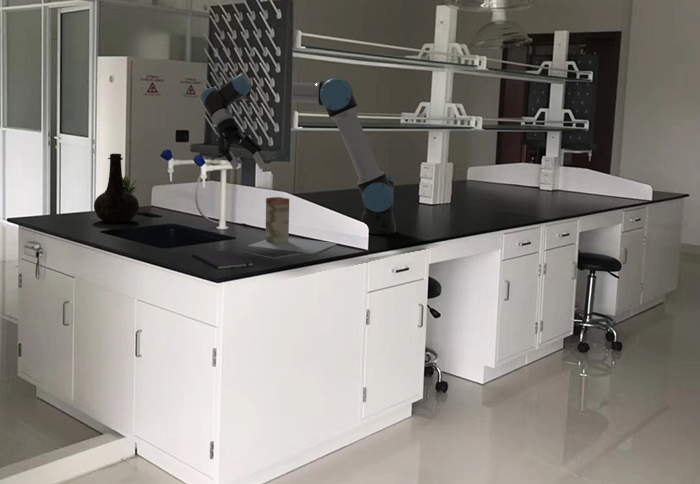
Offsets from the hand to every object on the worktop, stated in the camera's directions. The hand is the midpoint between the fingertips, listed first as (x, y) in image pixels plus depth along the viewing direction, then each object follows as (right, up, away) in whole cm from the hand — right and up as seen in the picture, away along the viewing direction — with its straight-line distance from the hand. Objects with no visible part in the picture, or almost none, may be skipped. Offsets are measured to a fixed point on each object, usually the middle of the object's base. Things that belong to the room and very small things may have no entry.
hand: (249, 167), depth 294 cm
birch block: (+11, -28, -5) cm, 30 cm away
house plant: (-66, -13, +63) cm, 92 cm away
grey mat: (+17, -30, -10) cm, 36 cm away
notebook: (-4, -35, -38) cm, 52 cm away
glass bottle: (-59, -20, +28) cm, 68 cm away
